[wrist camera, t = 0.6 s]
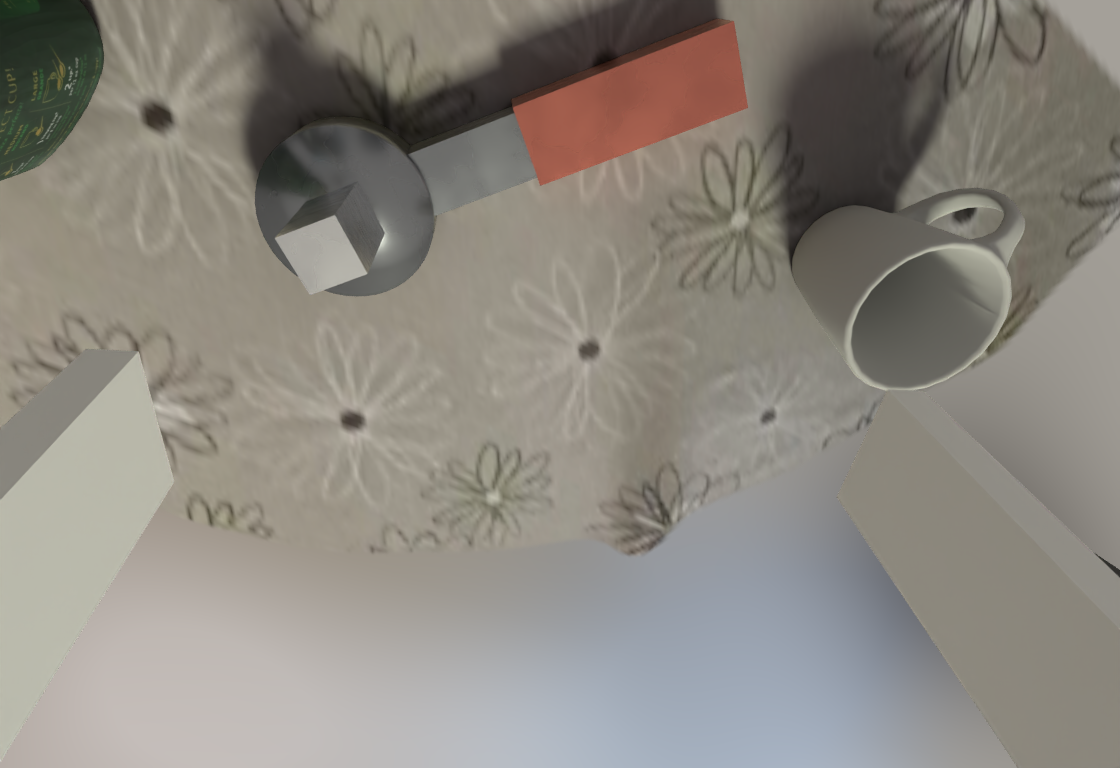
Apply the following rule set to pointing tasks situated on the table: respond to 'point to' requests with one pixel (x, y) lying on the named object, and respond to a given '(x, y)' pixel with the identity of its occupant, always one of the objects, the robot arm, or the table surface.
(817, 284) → the cup
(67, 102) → the coffee jar
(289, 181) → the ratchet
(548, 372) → the table surface
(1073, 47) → the table surface
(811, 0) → the table surface
